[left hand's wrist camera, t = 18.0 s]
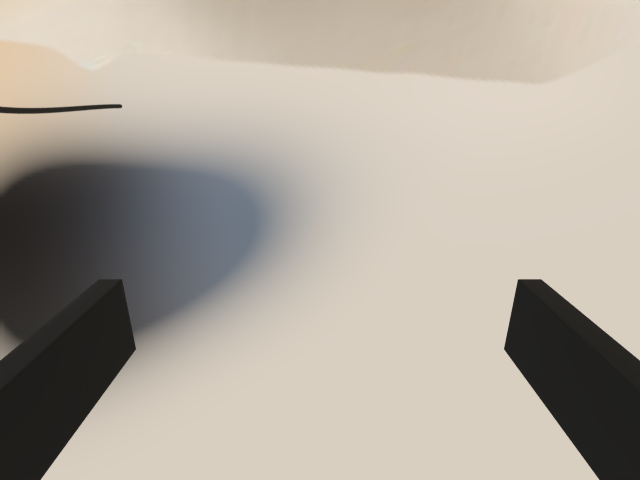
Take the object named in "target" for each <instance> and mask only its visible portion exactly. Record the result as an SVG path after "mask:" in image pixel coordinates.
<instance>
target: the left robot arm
mask: <svg viewBox="0 0 640 480" xmlns="http://www.w3.org/2000/svg"><path fill="white" fill-rule="evenodd" d="M112 108H122V105H121V104H103V105H85V106H70V107H51V108H15V107H1V106H0V113H10V114H41V113H59V112H72V111H84V110H96V109H112ZM135 350H136V347H135V342H134V337H133V332H132V327H131V323H130V317H129V313H128V307H127V302H126V297H125V292H124V287H123V283H122V280H121V279H118V280H117V279H114V280H113V279H101V280H98V281H96V282H95V283H94V284H93V285H91V286H90V287H89V288H88V289H87V290H85V291H84V292H83V293H82V294H81V295H79V296H78V297H77V298H76V299H74V300H73V301H72V302H71V303H70V304H68V305H67V306H66V307H65V308H64V309H62V310H61V311H60V312H59V313H58V314H56V315H55V316H54V317H53V318H51V319H50V320H49V321H48V322H47V323H45V324H44V325H43V326H42V327H41V328H39V329H38V330H37V331H36V332H34V333H33V334H32V335H31V336H30V337H28V338H27V339H26V340H25V341H24V342H22V343H21V344H20V345H19V346H18V347H16V348H15V349H14V350H13V351H11V352H10V353H9V354H8V355H7V356H5V357H4V358H3V359H2V360H0V480H41V478H42V477H43V476H44V474H45V473H46V471H47V470H48V469H49V467H50V466H51V465H52V463H53V462H54V460H55V459H56V458H57V456H58V455H59V454H60V452H61V451H62V450H63V448H64V447H65V446H66V444H67V443H68V441H69V440H70V439H71V437H72V436H73V435H74V433H75V432H76V430H77V429H78V428H79V426H80V425H81V424H82V422H83V421H84V420H85V418H86V417H87V415H88V414H89V413H90V411H91V410H92V409H93V407H94V406H95V404H96V403H97V402H98V400H99V399H100V398H101V396H102V395H103V393H104V392H105V391H106V389H107V388H108V387H109V385H110V384H111V383H112V381H113V380H114V378H115V377H116V376H117V374H118V373H119V372H120V370H121V369H122V367H123V366H124V365H125V363H126V362H127V361H128V359H129V358H130V357H131V355H132V354H133V352H134V351H135ZM504 350H505V351H506V352H507V354H508V355H509V357H510V358H511V359H512V361H513V362H514V363H515V365H516V366H517V368H518V369H519V370H520V372H521V373H522V374H523V376H524V377H525V378H526V380H527V381H528V383H529V384H530V385H531V387H532V388H533V389H534V391H535V392H536V394H537V395H538V396H539V398H540V399H541V400H542V402H543V403H544V404H545V406H546V407H547V408H548V410H549V411H550V413H551V414H552V415H553V417H554V418H555V420H556V421H557V422H558V424H559V425H560V426H561V428H562V429H563V430H564V432H565V433H566V435H567V436H568V437H569V439H570V440H571V441H572V443H573V444H574V445H575V447H576V448H577V450H578V451H579V452H580V454H581V455H582V456H583V458H584V459H585V460H586V462H587V463H588V465H589V466H590V467H591V469H592V470H593V471H594V473H595V474H596V476H597V477H598V478H599V480H640V361H639V360H638V359H637V358H636V357H635V356H633V355H632V354H631V353H630V352H629V351H627V350H626V349H625V348H624V347H623V346H621V345H620V344H619V343H618V342H616V341H615V340H614V339H613V338H612V337H610V336H609V335H608V334H607V333H606V332H604V331H603V330H602V329H601V328H599V327H598V326H597V325H596V324H595V323H593V322H592V321H591V320H590V319H589V318H587V317H586V316H585V315H584V314H582V313H581V312H580V311H579V310H578V309H576V308H575V307H574V306H573V305H571V304H570V303H569V302H568V301H567V300H565V299H564V298H563V297H562V296H561V295H559V294H558V293H557V292H556V291H555V290H553V289H552V288H551V287H550V286H548V285H547V284H546V283H545V282H544V281H542V280H540V279H520V280H518V282H517V288H516V292H515V297H514V302H513V307H512V312H511V317H510V322H509V327H508V332H507V337H506V342H505V347H504Z"/></svg>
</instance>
